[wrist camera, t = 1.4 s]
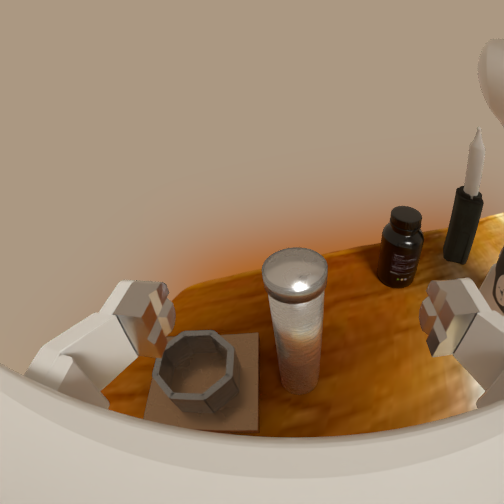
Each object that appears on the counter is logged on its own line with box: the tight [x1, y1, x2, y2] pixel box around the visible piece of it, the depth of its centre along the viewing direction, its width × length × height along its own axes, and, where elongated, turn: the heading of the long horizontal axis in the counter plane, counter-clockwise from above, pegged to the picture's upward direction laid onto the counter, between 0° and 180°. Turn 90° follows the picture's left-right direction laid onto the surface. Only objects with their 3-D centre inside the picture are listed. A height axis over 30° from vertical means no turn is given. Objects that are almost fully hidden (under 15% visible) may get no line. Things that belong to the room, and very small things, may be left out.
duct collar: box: [143, 330, 259, 433], centre depth 32 cm, size 14×14×5 cm
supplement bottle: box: [377, 206, 424, 288], centre depth 40 cm, size 7×7×12 cm
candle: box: [443, 127, 485, 264], centre depth 37 cm, size 5×5×25 cm
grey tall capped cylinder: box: [262, 248, 327, 395], centre depth 27 cm, size 5×5×18 cm
